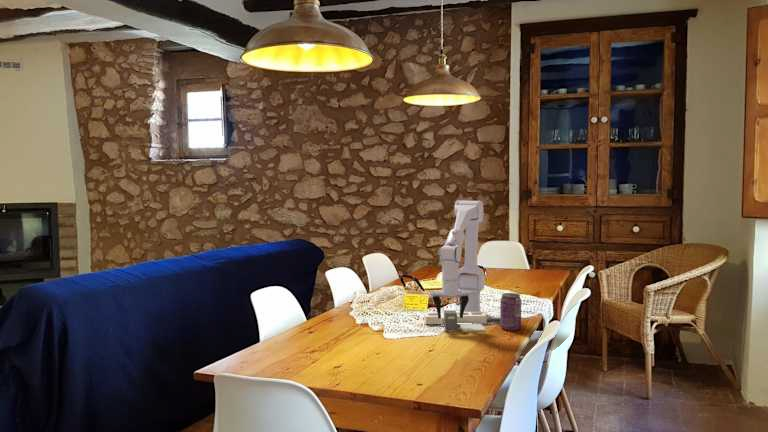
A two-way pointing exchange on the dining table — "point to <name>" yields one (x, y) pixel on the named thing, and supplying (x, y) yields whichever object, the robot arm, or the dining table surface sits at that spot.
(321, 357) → the dining table surface
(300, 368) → the dining table surface
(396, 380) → the dining table surface
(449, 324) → the block
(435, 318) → the power strip
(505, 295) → the beverage can
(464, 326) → the coaster
